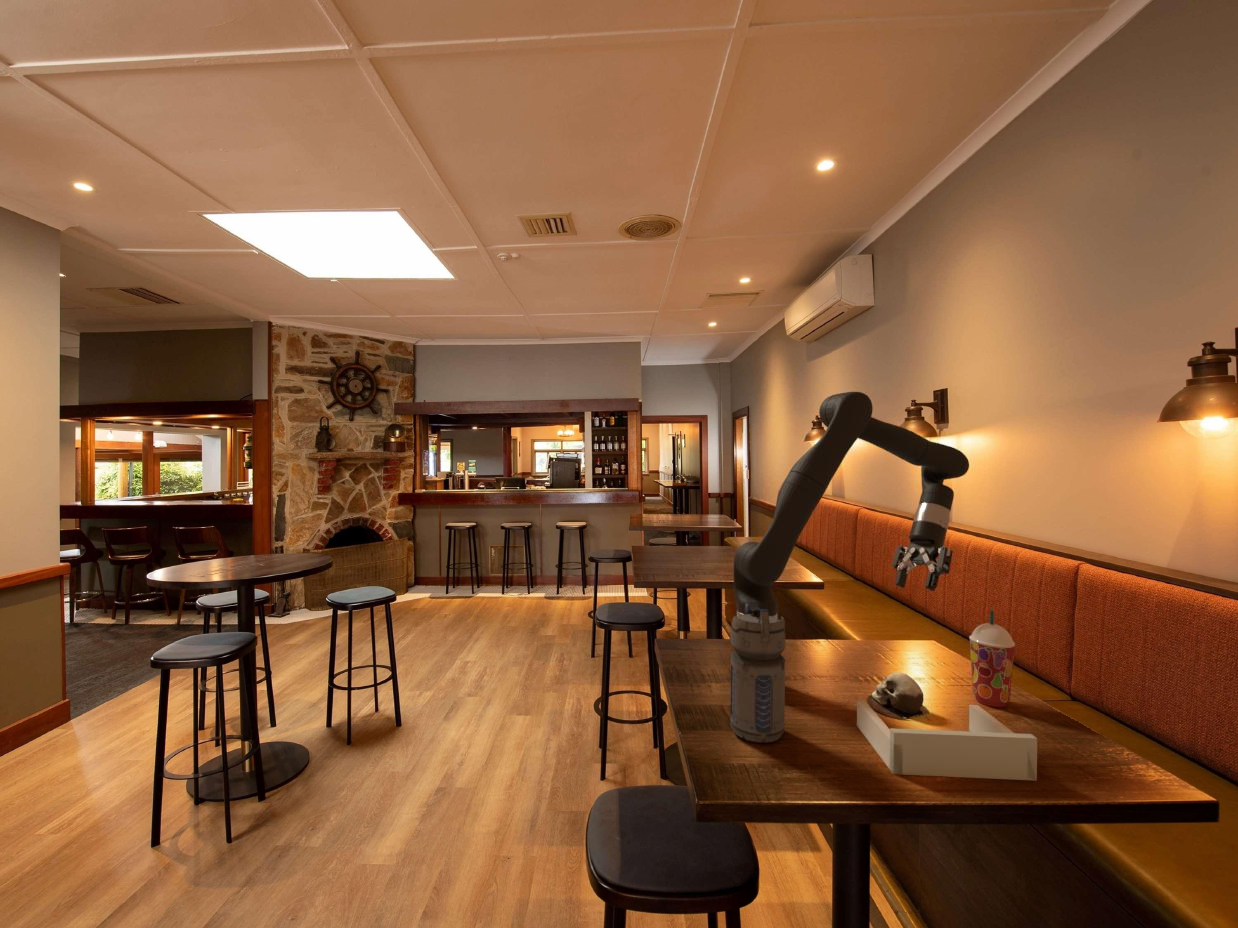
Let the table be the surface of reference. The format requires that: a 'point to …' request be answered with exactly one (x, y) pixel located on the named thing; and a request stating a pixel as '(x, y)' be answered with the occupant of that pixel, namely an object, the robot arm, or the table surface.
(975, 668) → the smoothie
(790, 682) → the table surface
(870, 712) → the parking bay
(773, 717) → the beverage bottle
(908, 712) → the skull
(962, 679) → the table surface
